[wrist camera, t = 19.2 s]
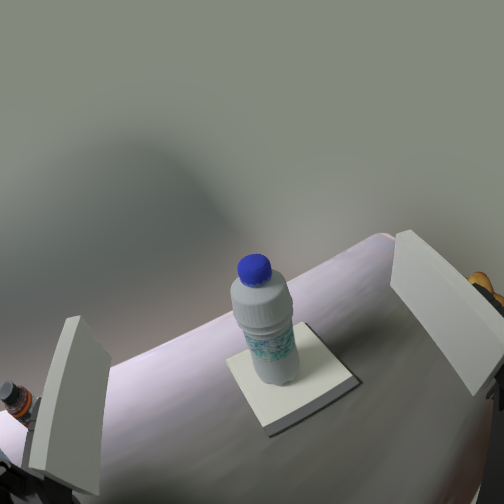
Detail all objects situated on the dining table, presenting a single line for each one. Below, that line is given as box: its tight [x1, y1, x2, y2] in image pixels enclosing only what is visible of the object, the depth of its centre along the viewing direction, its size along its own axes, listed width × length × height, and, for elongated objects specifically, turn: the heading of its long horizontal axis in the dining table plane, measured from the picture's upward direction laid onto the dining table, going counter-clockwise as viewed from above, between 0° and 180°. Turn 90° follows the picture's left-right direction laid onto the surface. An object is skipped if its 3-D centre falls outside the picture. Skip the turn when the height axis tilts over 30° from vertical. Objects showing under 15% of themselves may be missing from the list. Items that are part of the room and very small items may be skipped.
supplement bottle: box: [0, 381, 37, 428], centre depth 32 cm, size 6×6×11 cm
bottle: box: [231, 254, 300, 386], centre depth 35 cm, size 7×7×20 cm
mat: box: [225, 321, 360, 438], centre depth 40 cm, size 14×15×1 cm
